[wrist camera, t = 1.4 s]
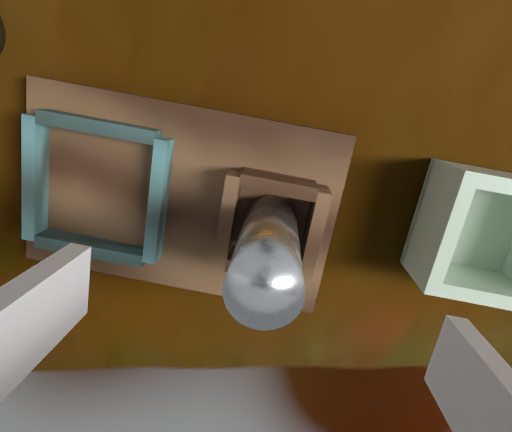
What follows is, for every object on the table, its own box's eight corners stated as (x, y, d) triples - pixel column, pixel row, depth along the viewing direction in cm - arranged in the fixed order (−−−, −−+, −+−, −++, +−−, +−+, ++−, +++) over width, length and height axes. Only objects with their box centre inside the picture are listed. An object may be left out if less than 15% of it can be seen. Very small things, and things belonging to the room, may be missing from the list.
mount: (36, 76, 24) (-4, 71, 20) (353, 135, 24) (365, 140, 20) (34, 252, 27) (0, 273, 24) (311, 305, 27) (315, 334, 24)
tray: (431, 158, 24) (465, 170, 19) (544, 179, 23) (604, 196, 19) (399, 261, 26) (423, 293, 21) (503, 280, 25) (549, 317, 21)
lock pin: (250, 190, 24) (229, 248, 14) (301, 200, 24) (313, 264, 14) (242, 238, 25) (216, 321, 15) (290, 247, 25) (295, 337, 15)
